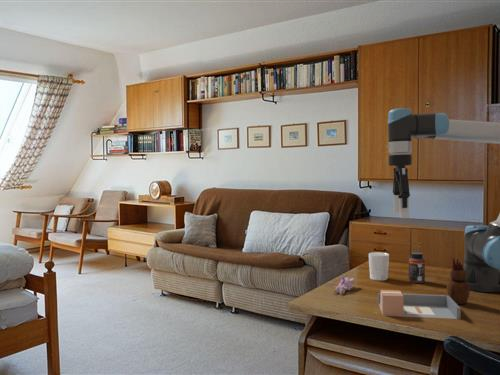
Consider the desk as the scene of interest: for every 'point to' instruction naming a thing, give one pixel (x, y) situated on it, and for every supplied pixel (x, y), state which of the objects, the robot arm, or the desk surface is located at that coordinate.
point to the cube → (391, 302)
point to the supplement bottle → (416, 268)
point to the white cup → (378, 265)
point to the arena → (428, 306)
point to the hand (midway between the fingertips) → (401, 215)
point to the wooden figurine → (458, 284)
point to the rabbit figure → (344, 285)
